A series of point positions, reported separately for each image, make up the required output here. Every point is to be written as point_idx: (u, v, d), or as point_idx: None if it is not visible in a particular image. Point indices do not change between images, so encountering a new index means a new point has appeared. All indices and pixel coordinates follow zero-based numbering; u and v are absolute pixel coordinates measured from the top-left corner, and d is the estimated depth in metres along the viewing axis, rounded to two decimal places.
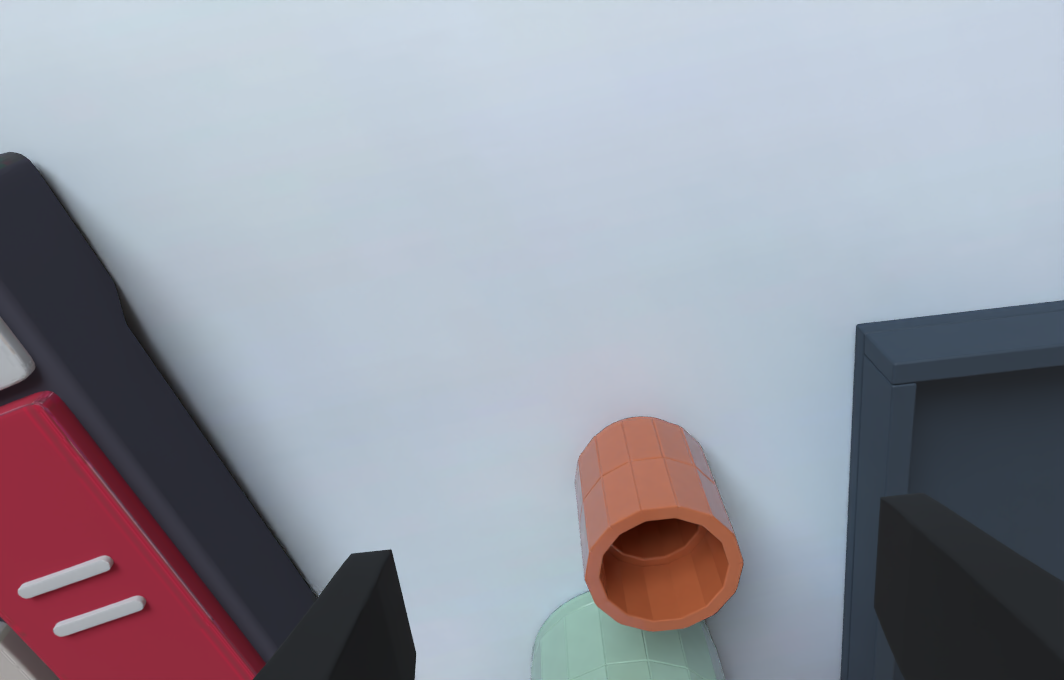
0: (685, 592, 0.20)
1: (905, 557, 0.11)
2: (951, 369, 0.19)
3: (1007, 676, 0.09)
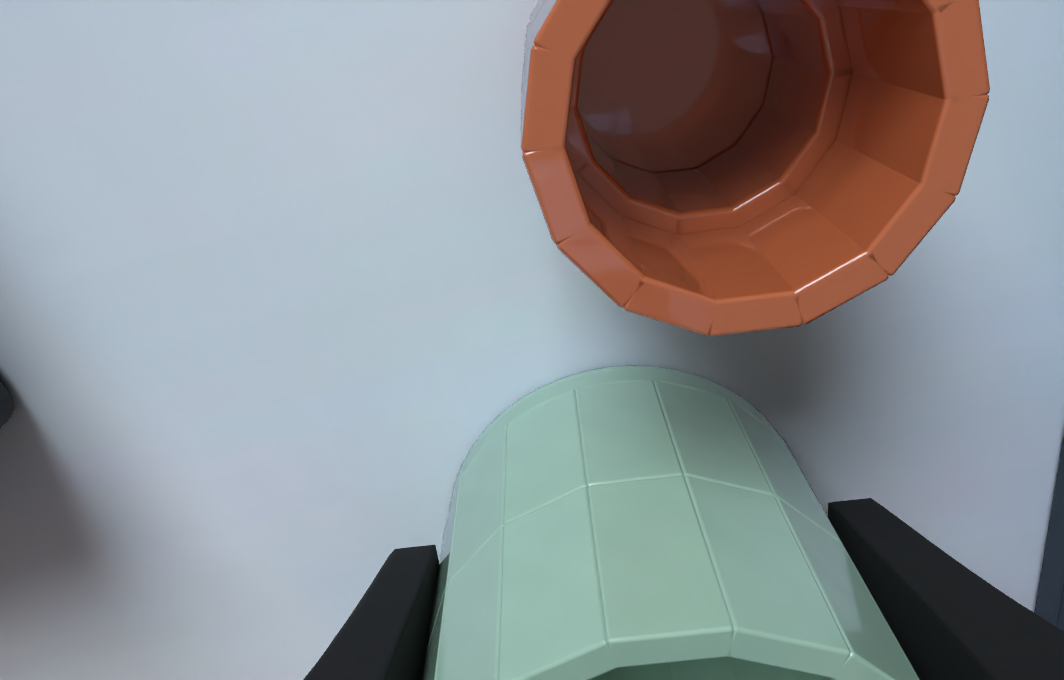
0: (796, 248, 0.08)
1: None
2: None
3: None
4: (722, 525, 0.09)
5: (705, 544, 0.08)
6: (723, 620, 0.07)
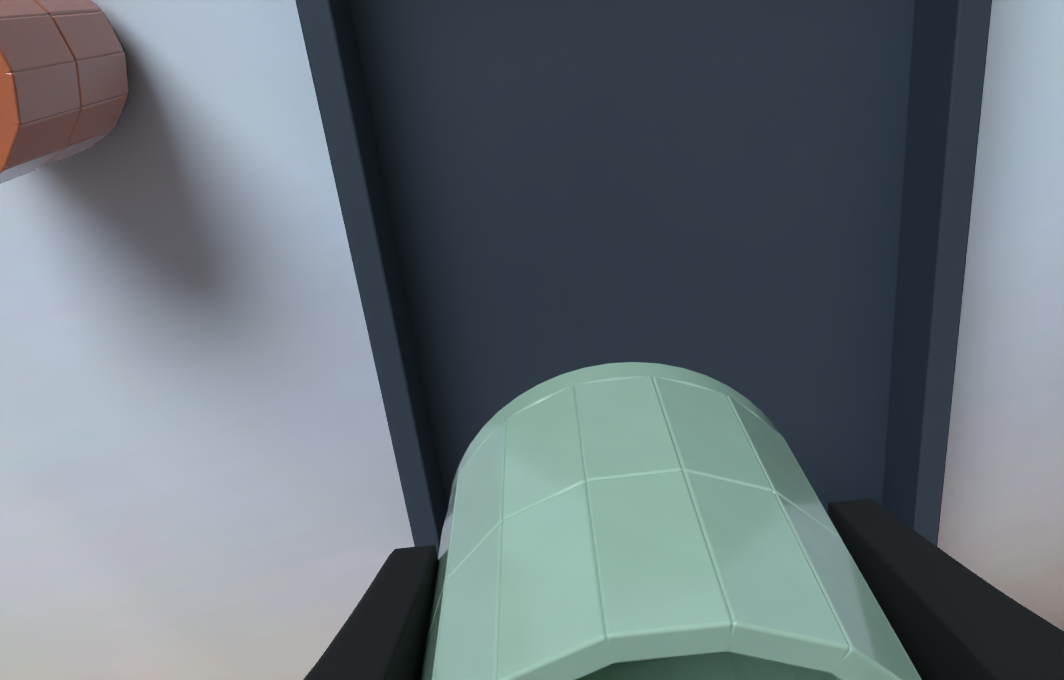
0: None
1: None
2: None
3: None
4: (721, 520, 0.09)
5: (704, 539, 0.08)
6: (722, 615, 0.07)
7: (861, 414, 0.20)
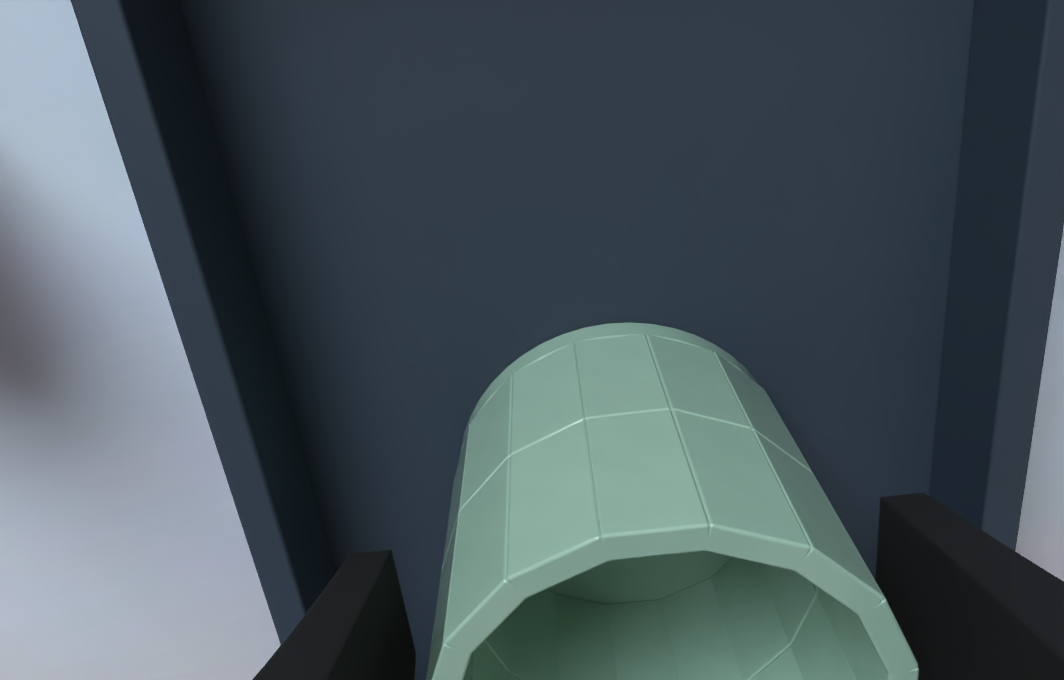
0: None
1: (905, 557, 0.11)
2: None
3: (1007, 676, 0.09)
4: (703, 449, 0.10)
5: (688, 463, 0.09)
6: (701, 519, 0.08)
7: None
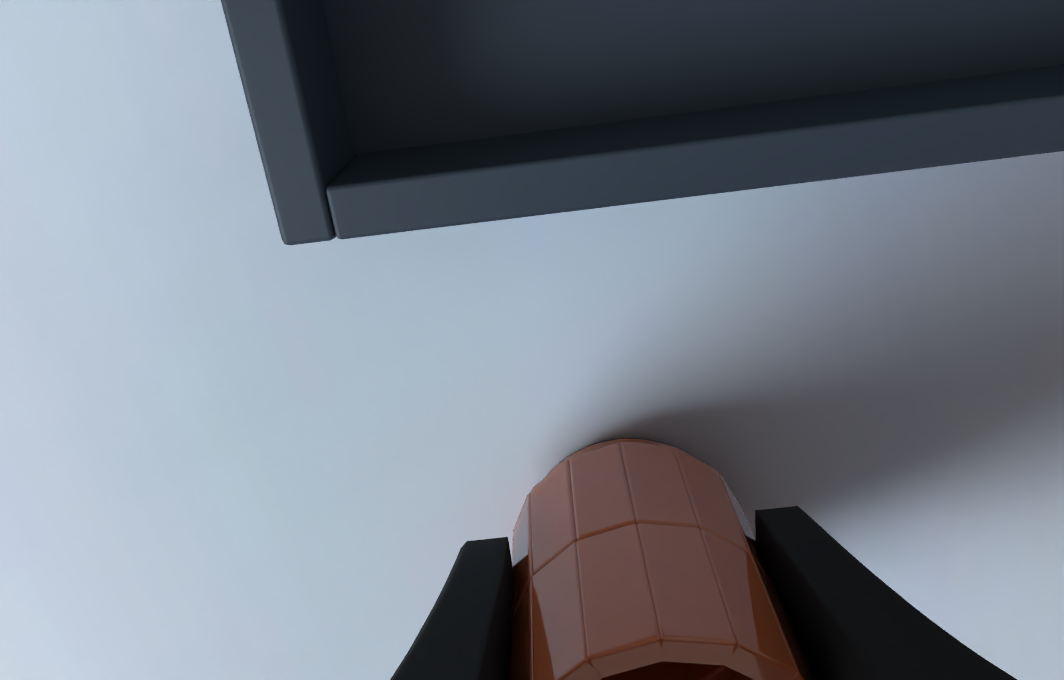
0: None
1: (772, 571, 0.11)
2: (281, 117, 0.08)
3: None
4: None
5: None
6: None
7: None
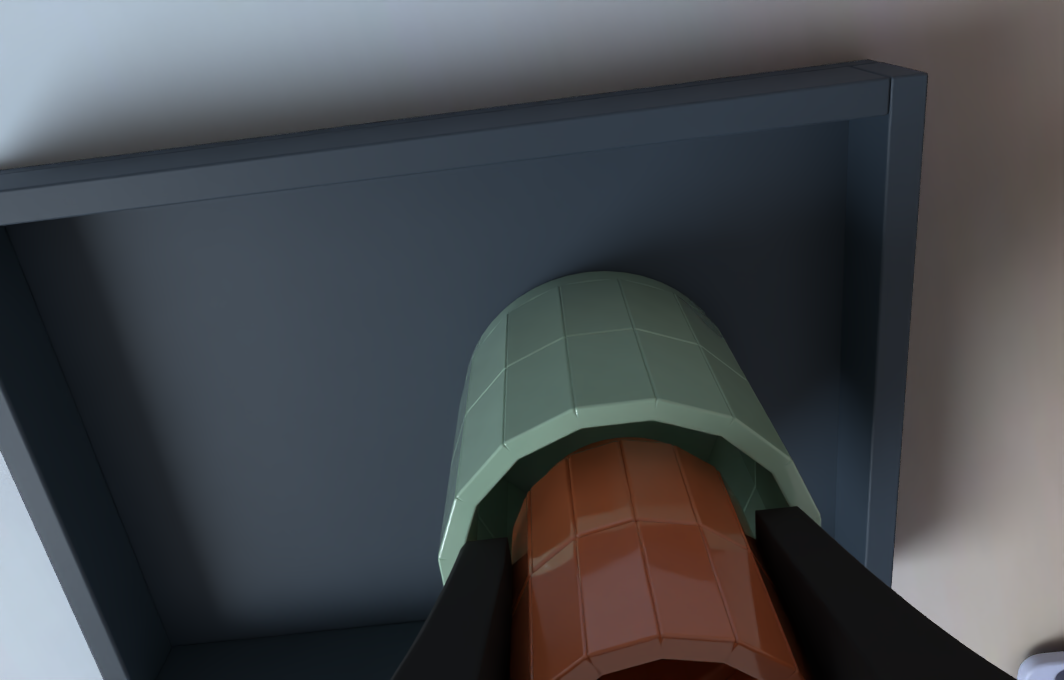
0: None
1: (772, 571, 0.11)
2: None
3: None
4: (449, 485, 0.14)
5: (445, 512, 0.13)
6: (440, 557, 0.12)
7: (695, 154, 0.15)
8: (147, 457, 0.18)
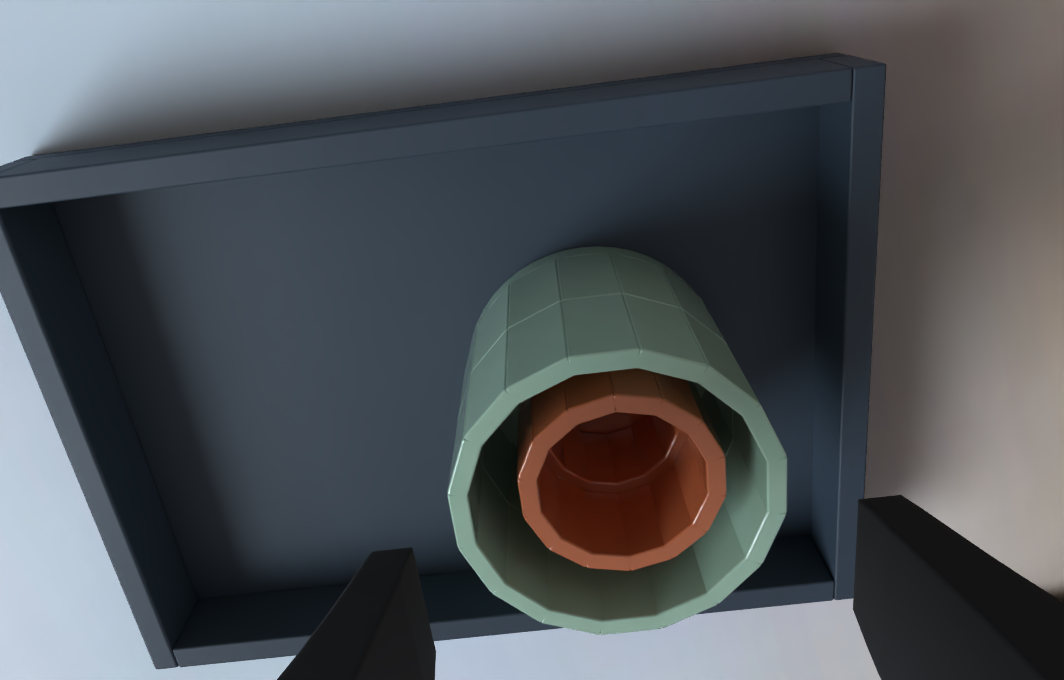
0: None
1: (882, 560, 0.11)
2: (151, 626, 0.20)
3: (978, 679, 0.09)
4: (456, 434, 0.15)
5: (453, 457, 0.15)
6: None
7: (680, 138, 0.17)
8: (178, 419, 0.19)
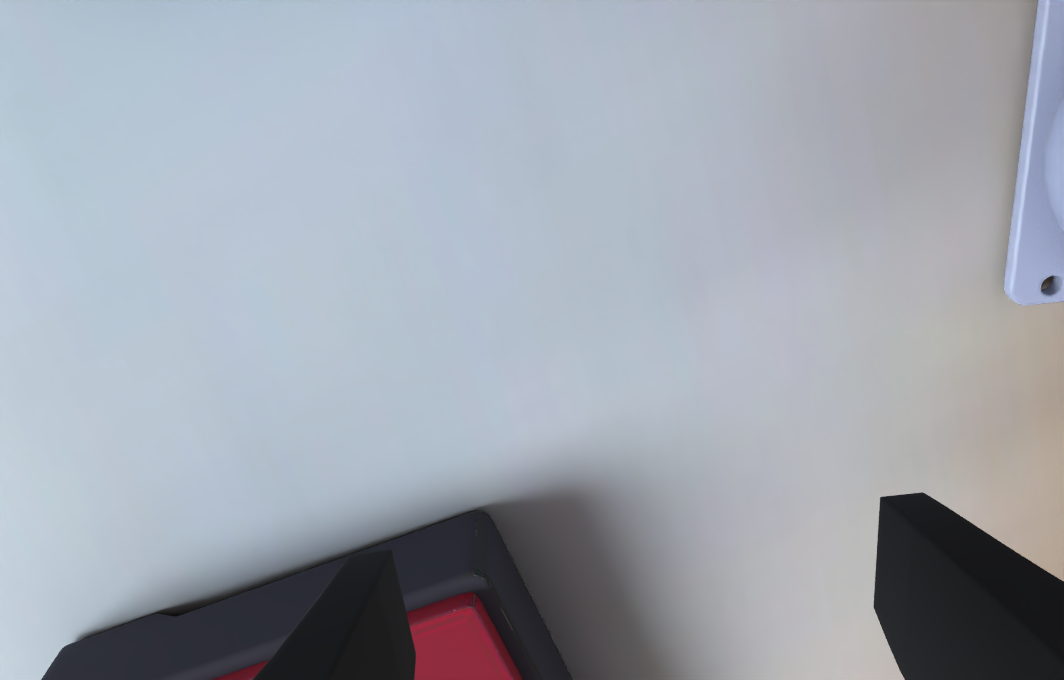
0: None
1: (905, 557, 0.11)
2: None
3: (1007, 676, 0.09)
4: None
5: None
6: None
7: None
8: None
